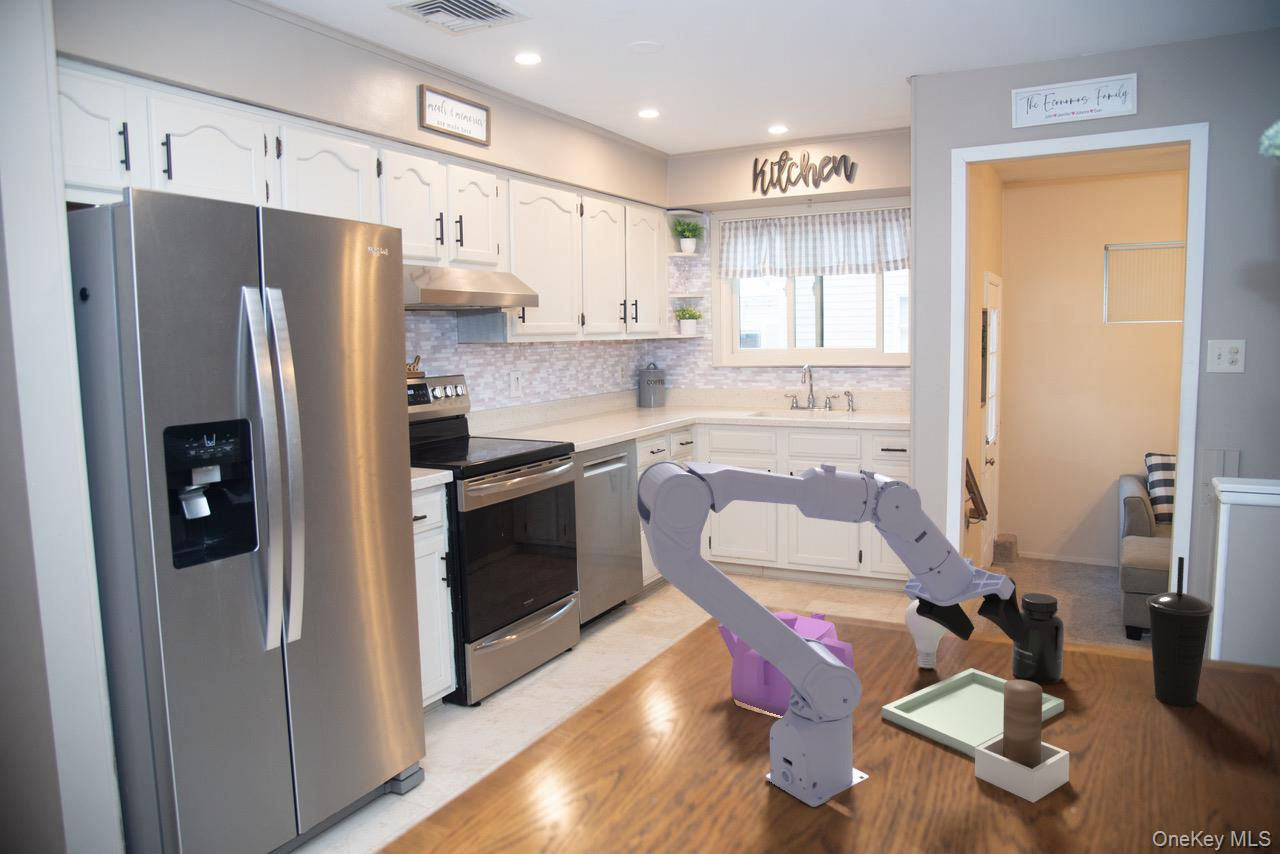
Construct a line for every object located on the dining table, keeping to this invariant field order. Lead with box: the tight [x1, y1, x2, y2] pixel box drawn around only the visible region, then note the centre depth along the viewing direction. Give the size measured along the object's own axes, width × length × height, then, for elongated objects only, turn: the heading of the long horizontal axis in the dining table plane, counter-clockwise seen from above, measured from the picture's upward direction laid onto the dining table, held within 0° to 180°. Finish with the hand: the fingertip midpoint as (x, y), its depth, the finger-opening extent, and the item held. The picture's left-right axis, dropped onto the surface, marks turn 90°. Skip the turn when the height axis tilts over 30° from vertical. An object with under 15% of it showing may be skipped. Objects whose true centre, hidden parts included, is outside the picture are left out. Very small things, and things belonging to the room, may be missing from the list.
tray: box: [881, 667, 1065, 759], centre depth 116 cm, size 20×14×2 cm
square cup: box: [974, 734, 1070, 804], centre depth 100 cm, size 7×7×4 cm
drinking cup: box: [1146, 556, 1214, 707], centre depth 118 cm, size 8×8×20 cm
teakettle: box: [717, 611, 855, 716], centre depth 124 cm, size 17×17×12 cm
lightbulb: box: [904, 599, 948, 670], centre depth 132 cm, size 6×6×11 cm
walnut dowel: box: [1003, 679, 1043, 769], centre depth 99 cm, size 4×4×11 cm
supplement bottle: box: [1011, 592, 1065, 685], centre depth 128 cm, size 7×7×12 cm
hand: (994, 635), depth 105 cm, fingers open, 7 cm apart
